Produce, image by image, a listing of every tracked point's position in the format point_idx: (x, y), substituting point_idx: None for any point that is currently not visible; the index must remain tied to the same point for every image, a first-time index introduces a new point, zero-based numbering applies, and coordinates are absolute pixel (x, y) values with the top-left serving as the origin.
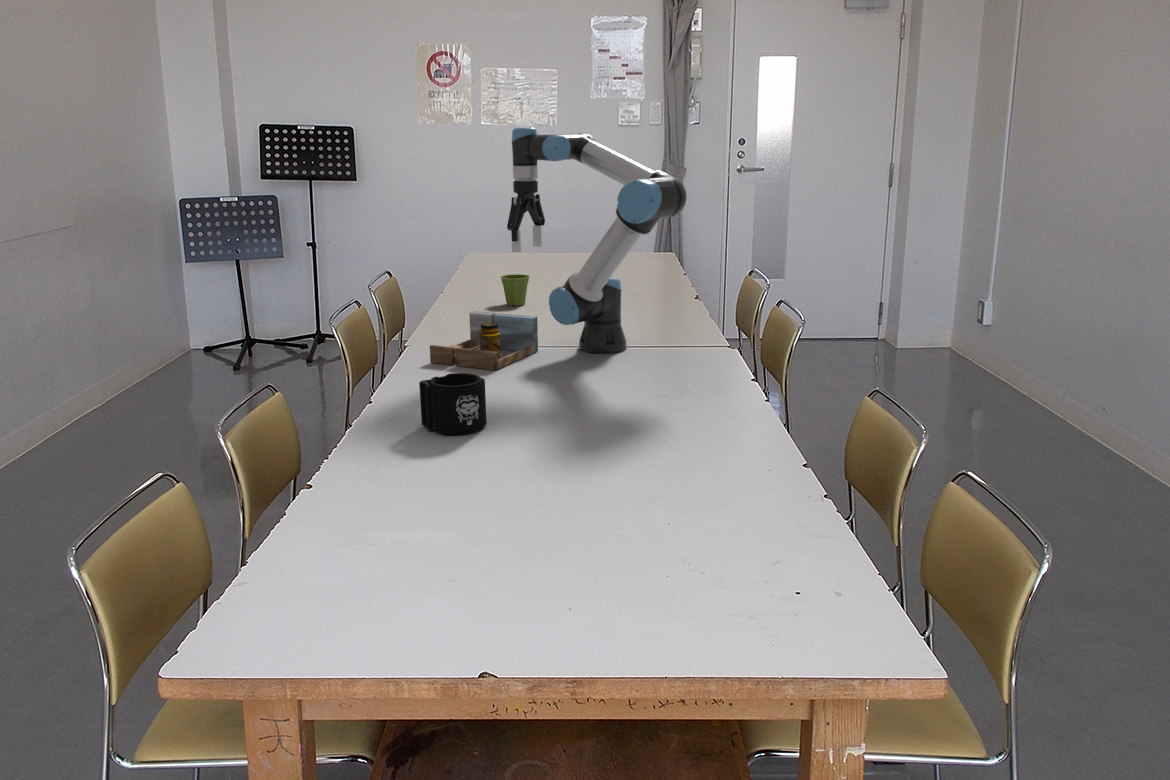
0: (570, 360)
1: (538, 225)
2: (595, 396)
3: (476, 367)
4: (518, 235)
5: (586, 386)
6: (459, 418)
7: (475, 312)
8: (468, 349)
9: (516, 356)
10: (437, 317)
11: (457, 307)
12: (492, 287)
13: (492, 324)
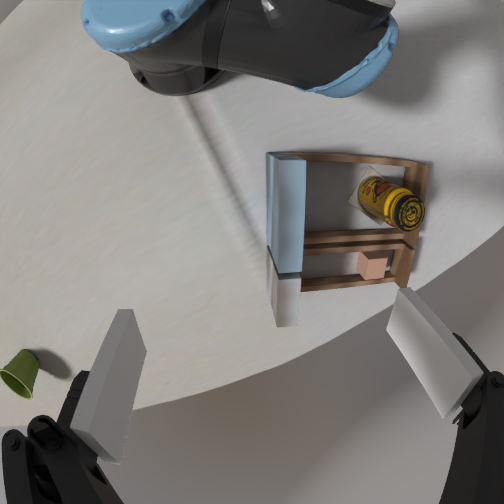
0: None
1: (84, 443)
2: (443, 4)
3: None
4: (464, 354)
5: (421, 13)
6: None
7: (289, 318)
8: None
9: (355, 155)
10: (143, 404)
11: None
12: (16, 399)
13: (409, 208)
